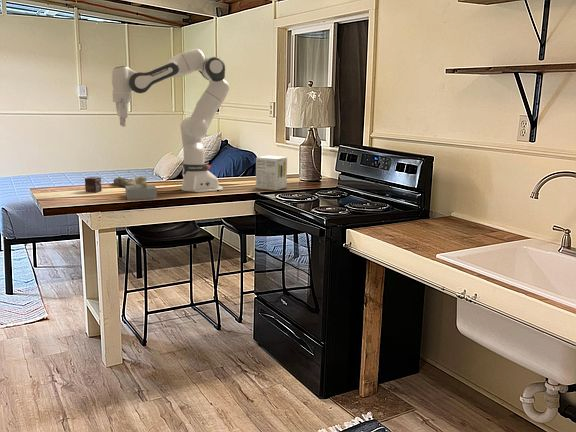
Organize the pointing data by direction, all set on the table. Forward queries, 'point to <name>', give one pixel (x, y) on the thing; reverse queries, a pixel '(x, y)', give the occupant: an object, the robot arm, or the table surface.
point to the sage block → (140, 182)
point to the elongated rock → (124, 182)
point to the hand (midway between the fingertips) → (122, 126)
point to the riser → (141, 192)
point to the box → (93, 184)
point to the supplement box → (271, 172)
